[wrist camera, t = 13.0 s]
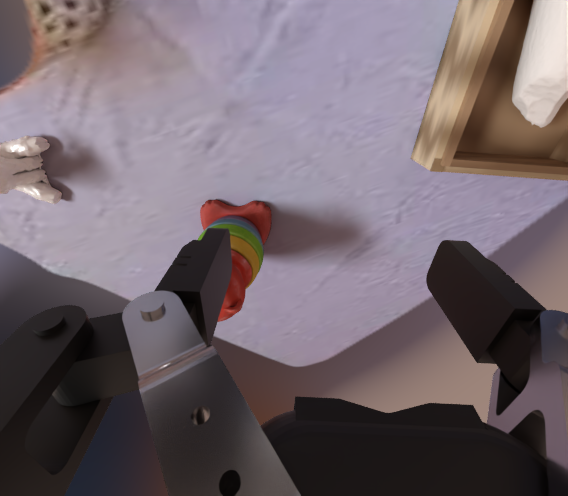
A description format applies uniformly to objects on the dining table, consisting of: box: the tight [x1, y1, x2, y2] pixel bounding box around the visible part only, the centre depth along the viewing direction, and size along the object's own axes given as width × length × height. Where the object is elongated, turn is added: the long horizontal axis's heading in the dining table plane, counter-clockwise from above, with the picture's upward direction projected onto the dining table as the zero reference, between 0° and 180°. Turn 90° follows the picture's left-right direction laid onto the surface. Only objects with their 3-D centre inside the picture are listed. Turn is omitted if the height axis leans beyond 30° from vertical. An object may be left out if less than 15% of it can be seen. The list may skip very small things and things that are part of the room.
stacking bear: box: [198, 200, 271, 322], centre depth 35 cm, size 11×10×18 cm
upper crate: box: [440, 0, 568, 175], centre depth 28 cm, size 19×17×6 cm
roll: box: [512, 0, 568, 128], centre depth 27 cm, size 6×12×6 cm, turn 9°
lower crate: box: [411, 0, 568, 181], centre depth 28 cm, size 20×18×6 cm
